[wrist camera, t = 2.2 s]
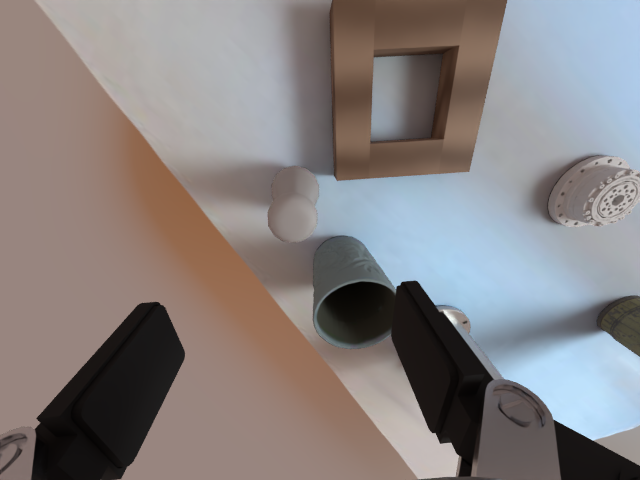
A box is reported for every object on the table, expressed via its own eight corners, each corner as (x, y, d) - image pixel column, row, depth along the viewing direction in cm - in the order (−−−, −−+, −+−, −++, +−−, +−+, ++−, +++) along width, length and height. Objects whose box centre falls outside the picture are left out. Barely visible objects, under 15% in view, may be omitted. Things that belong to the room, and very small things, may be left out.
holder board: (454, 167, 31) (469, 171, 28) (334, 175, 31) (337, 180, 28) (486, 5, 24) (509, -10, 21) (329, 12, 23) (333, -3, 21)
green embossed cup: (313, 227, 34) (318, 276, 23) (381, 233, 35) (417, 282, 24) (306, 285, 38) (308, 349, 27) (367, 288, 39) (392, 351, 28)
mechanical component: (608, 138, 31) (535, 191, 34) (653, 140, 27) (566, 200, 30) (625, 191, 35) (558, 235, 37) (667, 200, 31) (589, 248, 33)
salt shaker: (292, 215, 33) (286, 266, 21) (264, 182, 30) (240, 218, 19) (327, 189, 31) (340, 229, 20) (300, 153, 29) (297, 173, 17)
